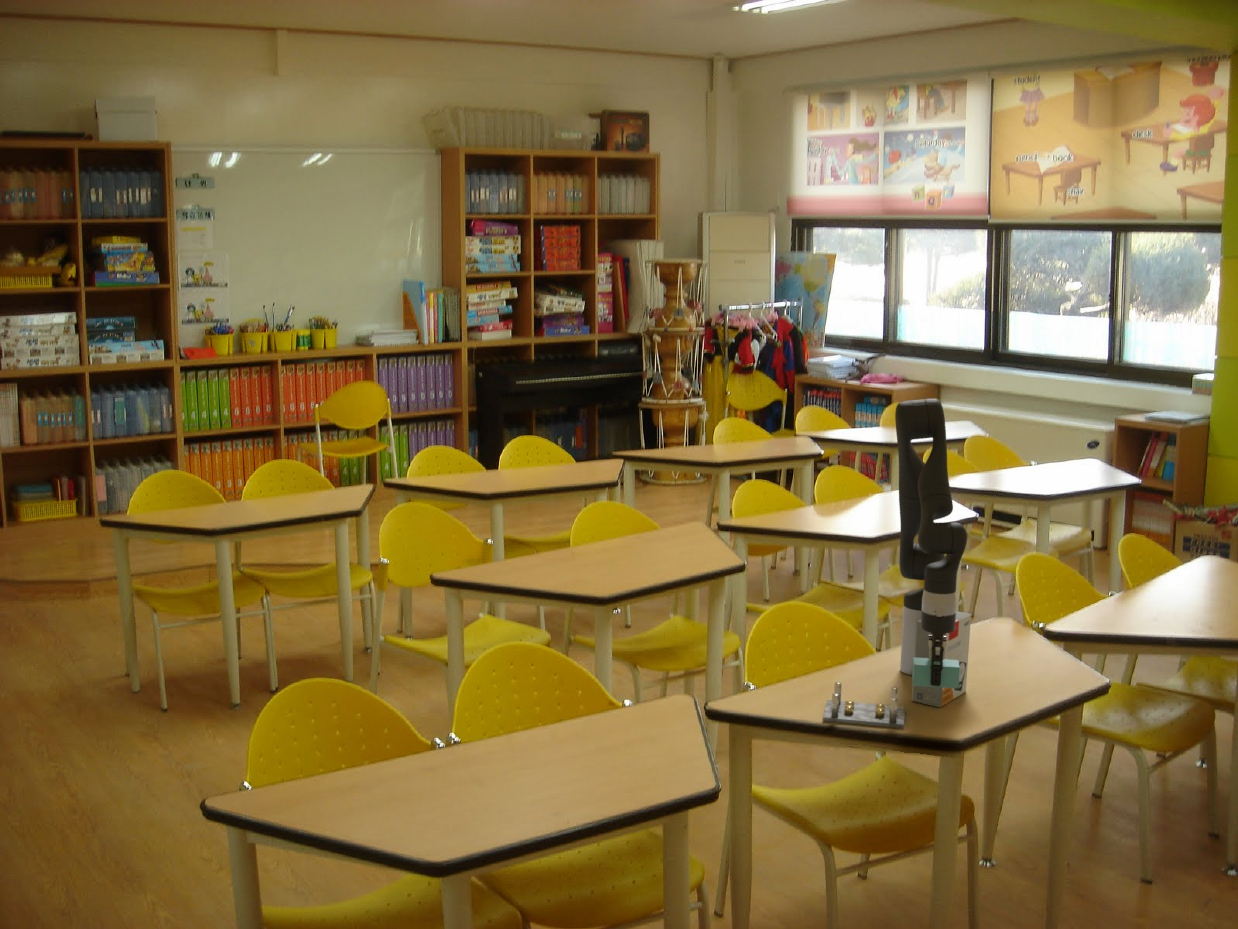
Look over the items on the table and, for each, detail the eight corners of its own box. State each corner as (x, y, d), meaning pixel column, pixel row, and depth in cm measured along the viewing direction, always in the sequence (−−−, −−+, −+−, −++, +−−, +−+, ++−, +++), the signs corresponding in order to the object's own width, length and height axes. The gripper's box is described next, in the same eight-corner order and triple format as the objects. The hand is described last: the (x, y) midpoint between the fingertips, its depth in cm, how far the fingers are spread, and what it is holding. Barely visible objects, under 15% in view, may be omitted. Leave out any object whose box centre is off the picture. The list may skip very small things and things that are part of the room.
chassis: (826, 703, 309) (827, 679, 308) (904, 710, 305) (905, 686, 304) (823, 721, 298) (824, 696, 297) (903, 729, 294) (905, 703, 293)
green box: (912, 678, 300) (913, 657, 299) (956, 680, 298) (958, 660, 297) (913, 685, 295) (914, 664, 294) (958, 688, 293) (959, 667, 293)
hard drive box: (941, 709, 306) (945, 627, 303) (910, 702, 311) (914, 621, 308) (967, 691, 319) (971, 612, 315) (937, 685, 323) (941, 607, 320)
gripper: (921, 599, 301) (918, 669, 304) (921, 617, 287) (918, 690, 291) (955, 601, 299) (951, 671, 303) (957, 620, 286) (953, 693, 289)
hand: (935, 680), depth 297 cm, fingers closed on green box, 5 cm apart
